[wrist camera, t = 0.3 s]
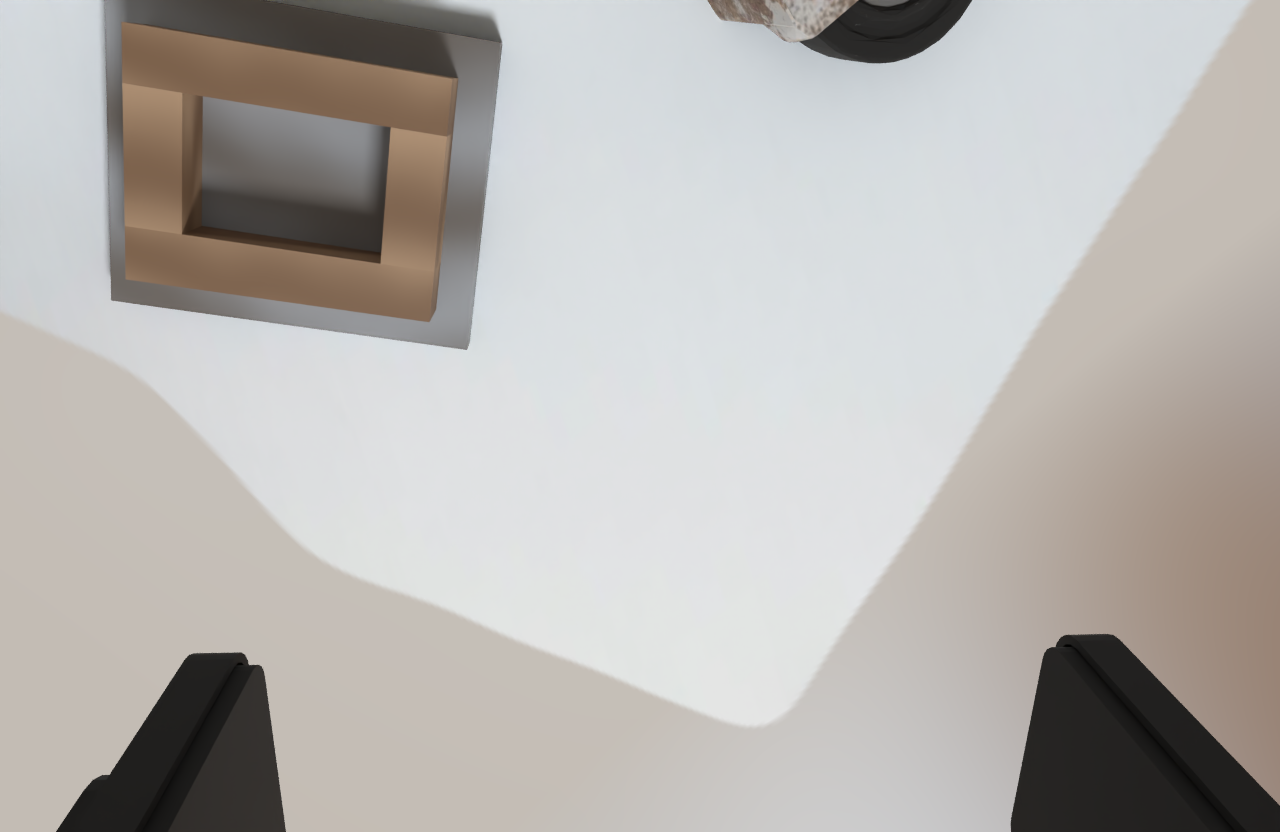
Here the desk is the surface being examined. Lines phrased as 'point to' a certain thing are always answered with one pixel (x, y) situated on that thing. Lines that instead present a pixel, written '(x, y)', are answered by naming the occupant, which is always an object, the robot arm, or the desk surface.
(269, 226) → the frame
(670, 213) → the desk surface
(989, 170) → the desk surface
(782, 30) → the caster wheel
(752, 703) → the desk surface
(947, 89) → the desk surface
